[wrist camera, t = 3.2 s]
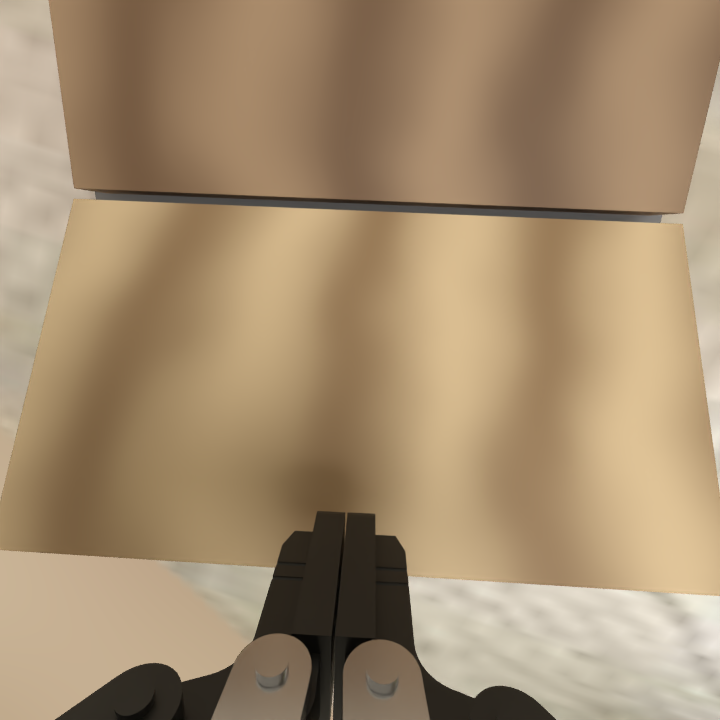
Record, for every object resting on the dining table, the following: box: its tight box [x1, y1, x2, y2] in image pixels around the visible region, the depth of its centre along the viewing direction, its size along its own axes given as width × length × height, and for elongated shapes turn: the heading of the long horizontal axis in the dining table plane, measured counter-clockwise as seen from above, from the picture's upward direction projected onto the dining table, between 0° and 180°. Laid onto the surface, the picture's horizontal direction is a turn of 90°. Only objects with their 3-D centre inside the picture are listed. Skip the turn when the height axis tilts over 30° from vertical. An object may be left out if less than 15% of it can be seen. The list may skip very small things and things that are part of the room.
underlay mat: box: [95, 192, 662, 223], centre depth 18 cm, size 23×26×1 cm
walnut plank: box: [49, 0, 720, 216], centre depth 15 cm, size 22×12×2 cm, turn 88°
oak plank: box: [0, 199, 720, 596], centre depth 15 cm, size 22×12×2 cm
